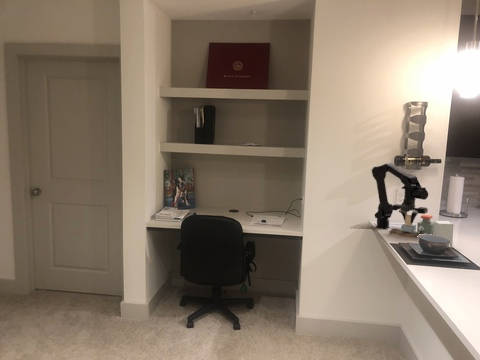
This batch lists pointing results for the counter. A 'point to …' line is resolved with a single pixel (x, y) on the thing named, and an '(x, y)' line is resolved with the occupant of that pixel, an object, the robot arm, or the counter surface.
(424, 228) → the green jar
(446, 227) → the supplement box
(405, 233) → the rail bed
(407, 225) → the blue and cream block
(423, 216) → the button
